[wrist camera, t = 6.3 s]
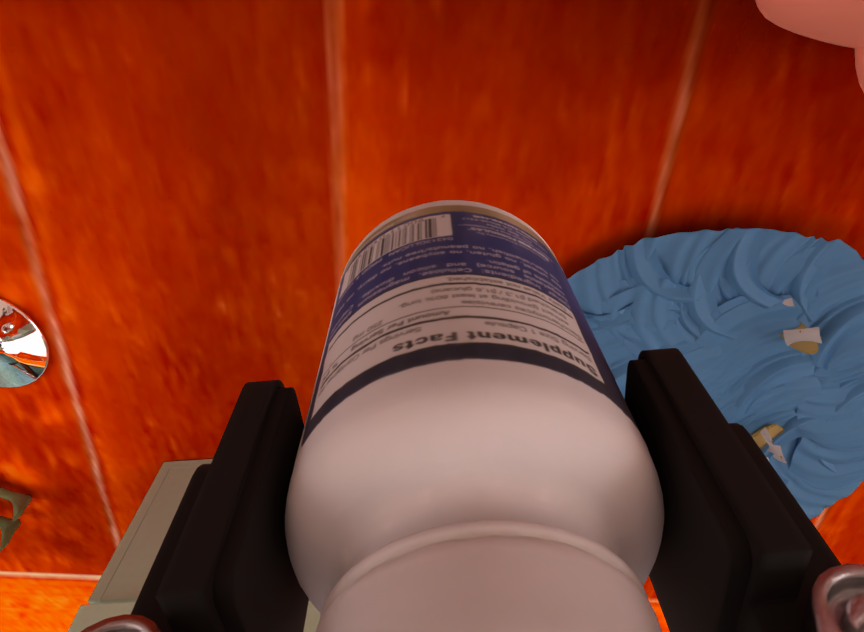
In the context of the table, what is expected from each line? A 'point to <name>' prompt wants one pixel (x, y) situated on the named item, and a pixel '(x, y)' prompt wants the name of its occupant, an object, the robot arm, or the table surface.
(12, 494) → the figurine
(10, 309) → the wineglass
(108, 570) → the chest
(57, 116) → the table surface
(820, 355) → the blue flat rumpled sheet
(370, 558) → the pill bottle
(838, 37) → the teapot
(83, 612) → the lid
